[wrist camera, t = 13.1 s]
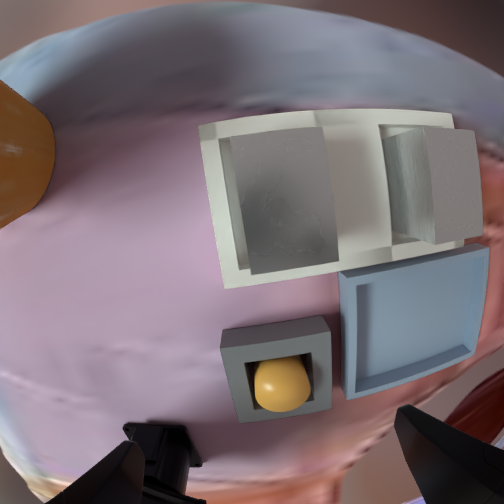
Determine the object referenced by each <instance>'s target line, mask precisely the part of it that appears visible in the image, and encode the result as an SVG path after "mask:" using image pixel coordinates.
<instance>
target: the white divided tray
mask: <svg viewBox="0 0 504 504" xmlns="http://www.w3.org/2000/svg"><path fill="white" fill-rule="evenodd" d="M313 127H323V133H324V139H325V145H326V151H327V157H328V164H329V170H330V178H331V185H332V193H333V201H334V209H335V218H336V228H337V239H338V250H339V261H338V262H332V263H326V264H320V265H314V266H308V267H302V268H296V269H289V270H283V271H277V272H270V273H264V274H257V275H251V271H250V264H249V258H248V252H247V245H246V239H245V233H244V226H243V220H242V214H241V207H240V201H239V194H238V188H237V182H236V175H235V169H234V162H233V156H232V149H231V143H230V137H235V136H242V135H249V134H256V133H264V132H272V131H280V130H290V129H301V128H313ZM421 127H438V128H453V129H454V124H453V119H452V114H449V113H440V112H429V111H416V110H399V109H328V110H310V111H297V112H285V113H275V114H266V115H258V116H250V117H243V118H237V119H230V120H224V121H218V122H212V123H207V124H202V125H198V131H199V138H200V145H201V152H202V158H203V165H204V171H205V178H206V184H207V191H208V197H209V203H210V209H211V215H212V221H213V227H214V233H215V238H216V244H217V250H218V255H219V261H220V266H221V272H222V277H223V282H224V288H225V289H230V288H237V287H244V286H250V285H257V284H264V283H270V282H277V281H283V280H289V279H295V278H301V277H308V276H314V275H319V274H325V273H331V272H337V271H343V270H348V269H354V268H359V267H365V266H370V265H375V264H381V263H386V262H391V261H396V260H401V259H406V258H411V257H416V256H421V255H426V254H431V253H436V252H441V251H445V250H450V249H455V248H459V247H464V239H462V240H457V241H452V242H448V243H443V244H438V245H433V244H430V243H428V242H425V241H422V240H419V239H416V238H413V237H410V236H407V235H404V234H401V233H398V232H395V231H392V223H391V210H390V199H389V189H388V181H387V173H386V165H385V158H384V152H383V145H382V140H381V139H384V138H388V137H391V136H394V135H397V134H400V133H404V132H407V131H410V130H414V129H417V128H421Z"/></svg>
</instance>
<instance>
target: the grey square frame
mask: <svg viewBox="0 0 504 504" xmlns="http://www.w3.org/2000/svg"><path fill="white" fill-rule="evenodd" d="M220 351H221V356H222V360H223V364H224V368H225V372H226V376H227V380H228V384H229V387H230V391H231V395H232V399H233V403H234V406H235V410H236V414H237V417H238V421H239V423H248V422H257V421H265V420H272V419H279V418H286V417H292V416H298V415H303V414H309V413H314V412H319V411H323V410H328V409H332V355H331V331H330V329H329V327H328V326H327V324H326V322H325V320H324V319H323V317H322V315H318V316H313V317H307V318H302V319H296V320H290V321H284V322H278V323H271V324H265V325H258V326H251V327H244V328H236V329H229V330H223V331H222V337H221V344H220ZM304 353H306V354H307V367H308V380H309V383H310V388H311V391H310V395H309V397H308V399H307V400H306V401H305V402H304V403H303V404H302V405H301V406H299V407H297V408H296V409H293V410H290V411H286V412H274V411H270V410H267V409H265V408H263V407H262V406H261V405H260V404H259V403H258V402H257V400H256V397H255V389H253V387H252V382H251V377H250V372H249V367H248V362H253V361H261V360H268V359H274V358H281V357H287V356H293V355H298V354H304Z"/></svg>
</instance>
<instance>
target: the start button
mask: <svg viewBox="0 0 504 504" xmlns="http://www.w3.org/2000/svg"><path fill="white" fill-rule="evenodd" d="M254 380H255V397H256V400H257V402H258V403H259V404H260V405H261V406H262V407H263V408H265V409H267V410H270V411H274V412H286V411H290V410H293V409H296V408H297V407H299V406H301V405H302V404H303V403H304V402H305V401H306V400H307V399H308V397H309V395H310V391H311V388H310V383H309V380H308V377H307V374H306V371H305V368H304V364H303V361H302V358H301V357H300V355H299V354H298V355H293V356H287V357H281V358H274V359H268V360H261V361H256V362H255V364H254Z"/></svg>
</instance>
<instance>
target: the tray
mask: <svg viewBox="0 0 504 504" xmlns="http://www.w3.org/2000/svg"><path fill="white" fill-rule="evenodd" d="M489 252H490V247H487V246H484V245H481V244H478V243H472V244H467V245H464V247H459V248H455V249H450V250H445V251H441V252H436V253H431V254H426V255H421V256H416V257H411V258H406V259H401V260H396V261H391V262H386V263H381V264H375V265H370V266H365V267H359V268H354V269H348V270H343V271H338V279H339V297H340V321H341V388H342V390H343V392H344V394H345V397H346V399H347V400H351V399H355V398H359V397H363V396H366V395H370V394H373V393H377V392H380V391H383V390H387V389H390V388H393V387H396V386H399V385H402V384H405V383H408V382H411V381H414V380H416V379H419V378H422V377H424V376H427V375H430V374H432V373H435V372H437V371H440V370H442V369H444V368H447V367H449V366H452V365H454V364H456V363H458V362H461V361H463V360H465V359H467V358H469V357H471V356H473V355H474V354H475V350H476V345H477V341H478V336H479V332H480V327H481V321H482V315H483V309H484V303H485V296H486V288H487V278H488V267H489Z"/></svg>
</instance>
